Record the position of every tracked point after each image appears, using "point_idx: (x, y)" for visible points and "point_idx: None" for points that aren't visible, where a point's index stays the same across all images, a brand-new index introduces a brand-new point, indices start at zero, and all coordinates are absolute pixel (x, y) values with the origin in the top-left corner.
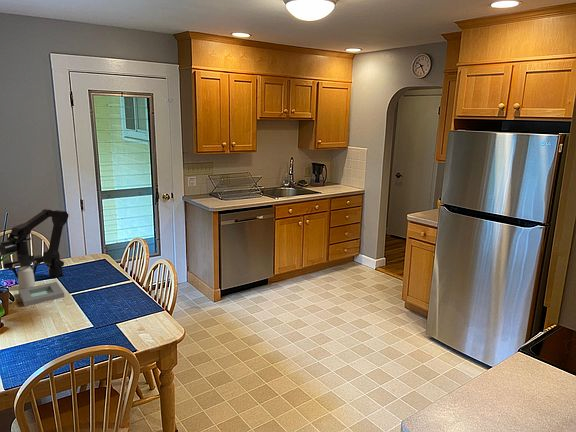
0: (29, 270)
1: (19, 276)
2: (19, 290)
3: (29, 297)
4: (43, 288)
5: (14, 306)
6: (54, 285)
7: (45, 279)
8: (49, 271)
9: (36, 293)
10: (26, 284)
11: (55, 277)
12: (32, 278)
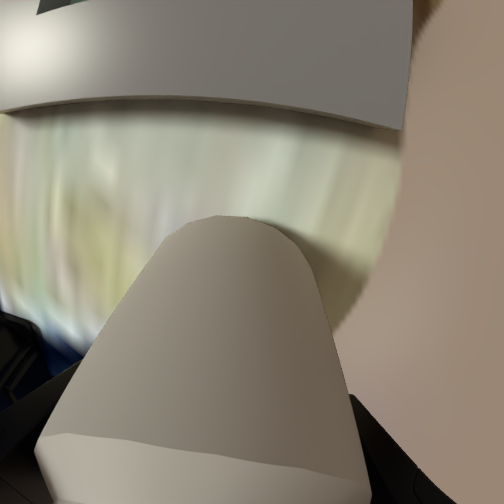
0: (76, 441)
1: (346, 395)
2: (398, 93)
3: None
4: (106, 4)
5: None
6: (9, 8)
7: (69, 344)
8: (12, 381)
9: None
10: (252, 239)
11: (8, 316)
12: (130, 290)
